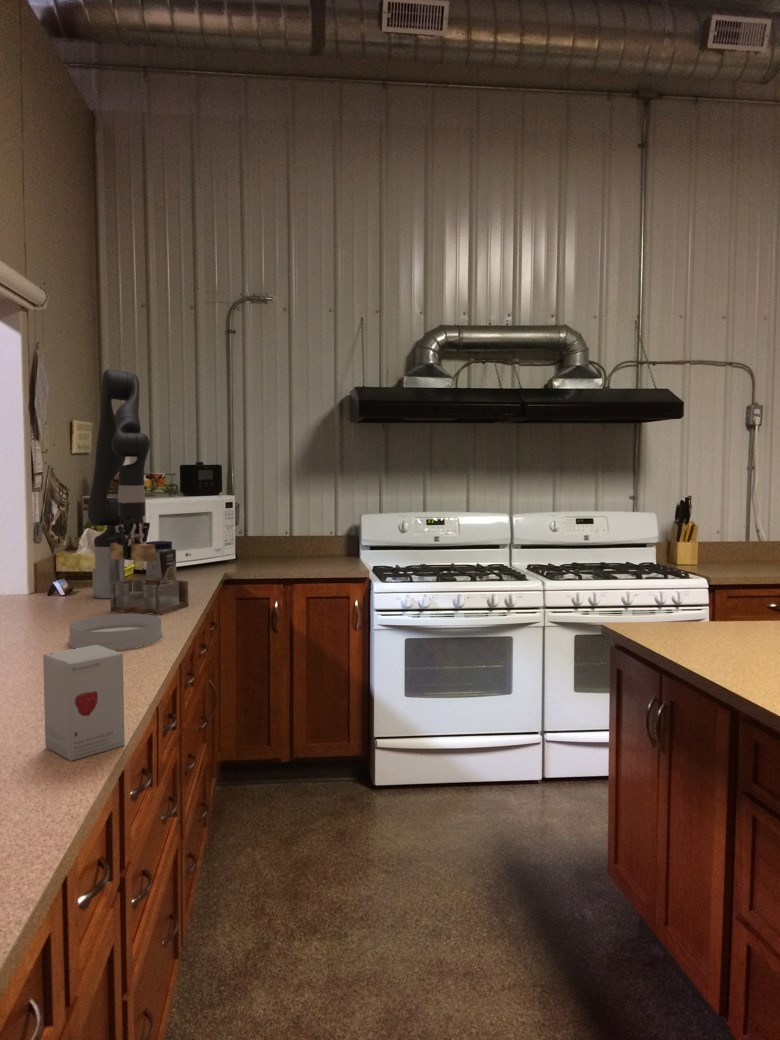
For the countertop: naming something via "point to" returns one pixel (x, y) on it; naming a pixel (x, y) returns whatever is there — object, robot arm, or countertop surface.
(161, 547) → the storage jar
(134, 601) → the bracket board
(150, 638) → the dish
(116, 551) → the rail
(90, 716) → the supplement box
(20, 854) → the countertop surface
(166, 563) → the coffee box
